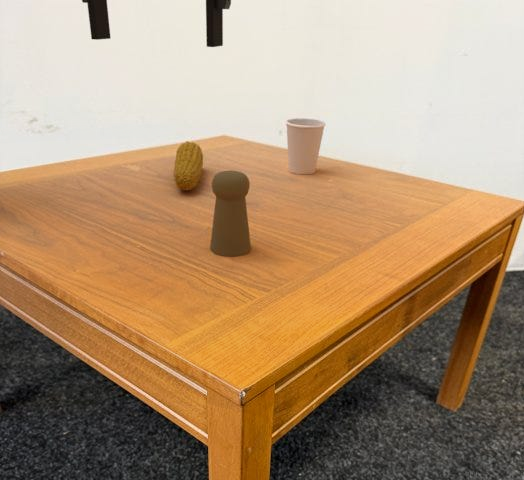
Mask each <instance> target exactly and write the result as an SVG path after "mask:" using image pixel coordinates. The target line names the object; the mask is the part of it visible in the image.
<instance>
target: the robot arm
mask: <svg viewBox="0 0 524 480" xmlns="http://www.w3.org/2000/svg"><path fill="white" fill-rule="evenodd" d="M81 1H82V3H83V4H87V12H88V21H89V29H90V38H91V40H94V41H95V40H97V41H98V40H111V29H110V28H111V27H110V19H109V9H108V0H81ZM231 5H232V0H205V20H206V21H205V27H206V28H205V30H206V31H205V33H206V48H217V47H223V46H224V30H223V29H224V26H223V25H224V21H223V20H224V18H223V17H224V14H223V12H224V10H230V8H231Z"/></svg>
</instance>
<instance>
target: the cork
mask: <svg viewBox="0 0 524 480" xmlns="http://www.w3.org/2000/svg"><path fill="white" fill-rule="evenodd" d="M250 185H251V183H250V179H249V178H248V176H247V174H245V173H244V172H242V171H237V170H222V171H219V172H217V173H215V174H214V176H213V177H212V180H211V189H212V193H213V194H214V196H215V203H214V210H213V211H214V212H213V219H212V228H211V229H212V230H211V237H210V245H209V250H210V252H212V253H213V254H215V255H218V256H224V257H240V256H244V255H246V254H248V253H250V252H251V250H252V244H251V243H252V242H251V236H250V226H249V216H248V210H247V200H246V197H247V196H248V194H249V191H250Z"/></svg>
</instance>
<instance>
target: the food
mask: <svg viewBox="0 0 524 480" xmlns="http://www.w3.org/2000/svg"><path fill="white" fill-rule="evenodd" d="M203 166H204V154H203V149H202V147H201V146H200V144H197V143H196V142H194V141H191V142H190V141H188V140H186V141H185V142H183V143H181V144H180V145H179V146H178V147H177V149H176V153H175V160H174V166H173V167H174V168H173V179H174V183H175V185H176V187H178V188H179V189H180V190H181V191H190V190H193V189H194V188H195V187H196V186H197V185H198V183H199V181H200V180H201V177H202V172H203Z"/></svg>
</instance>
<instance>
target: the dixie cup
mask: <svg viewBox="0 0 524 480" xmlns="http://www.w3.org/2000/svg"><path fill="white" fill-rule="evenodd" d="M284 124H286V125H285V126H286V142H287V159H288V171H289V172H290V173H292V174H296V175H312V174H315V173H316V169H317V165H318V159H319V154H320V150H321V145H322V140H323V134H324V129H325V127H326V126H327V125H326V124H327V123H326V122H325V121H323V120H322V119H321V120H320V119H315V118H309V117H307V118H306V117H297V118H288V119H286V120H285V122H284Z"/></svg>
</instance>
